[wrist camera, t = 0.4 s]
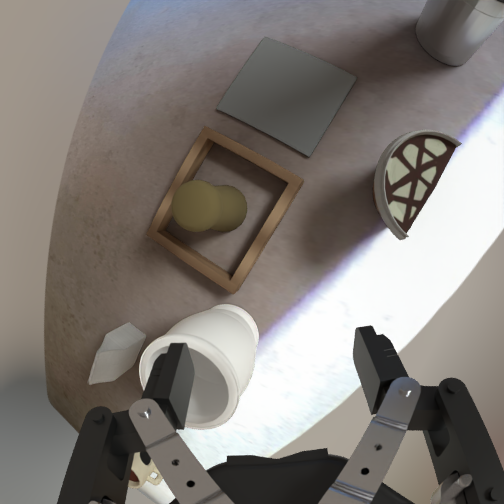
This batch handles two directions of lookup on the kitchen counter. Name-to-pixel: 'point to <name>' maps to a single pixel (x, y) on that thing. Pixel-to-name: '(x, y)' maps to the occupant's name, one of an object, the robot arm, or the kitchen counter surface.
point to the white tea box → (116, 354)
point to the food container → (410, 176)
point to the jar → (211, 361)
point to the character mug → (143, 471)
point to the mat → (287, 94)
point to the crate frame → (187, 174)
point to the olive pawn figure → (208, 207)
